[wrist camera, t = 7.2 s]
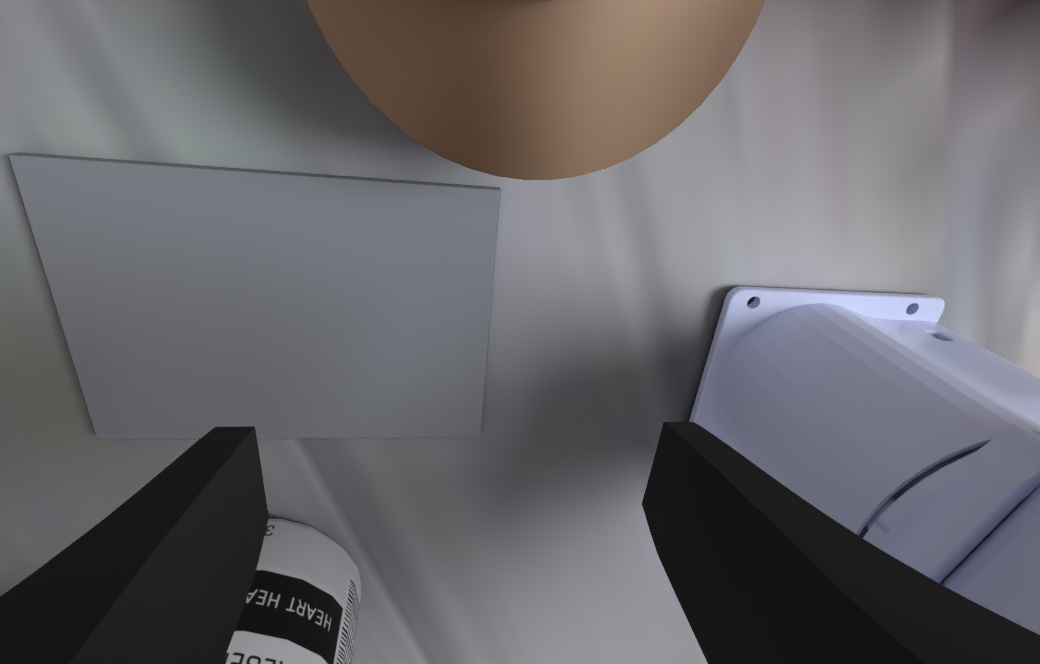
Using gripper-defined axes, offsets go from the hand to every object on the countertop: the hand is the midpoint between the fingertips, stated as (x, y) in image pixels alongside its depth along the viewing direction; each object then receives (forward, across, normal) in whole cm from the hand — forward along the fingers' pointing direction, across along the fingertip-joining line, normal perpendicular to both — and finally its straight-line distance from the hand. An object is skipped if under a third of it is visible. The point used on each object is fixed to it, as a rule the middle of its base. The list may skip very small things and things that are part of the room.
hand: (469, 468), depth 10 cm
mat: (+10, +6, +2) cm, 12 cm away
